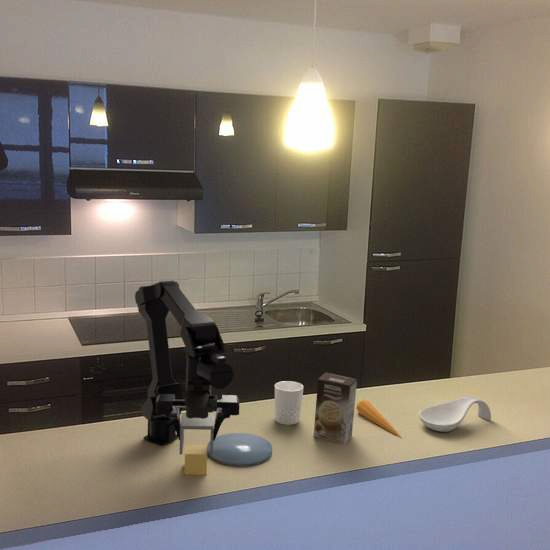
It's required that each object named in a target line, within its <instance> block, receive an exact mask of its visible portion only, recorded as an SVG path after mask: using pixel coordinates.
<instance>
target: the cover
mask: <svg viewBox="0 0 550 550" xmlns="http://www.w3.org/2000/svg"><path fill="white" fill-rule="evenodd" d="M214 424H215V413H214V412H213V413H208V417H207V418H205V419H201V418H187V417H186V412H181V416H180V440H179V455H183V450H184V443H185V442H184V441H185V430H198V431H200V430H205V431H206V430H207V431H208V430H210V435H209V436H210V438H209V439H210V440H209V441H210V455H213V430H214Z"/></svg>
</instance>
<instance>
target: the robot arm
mask: <svg viewBox="0 0 550 550" xmlns="http://www.w3.org/2000/svg"><path fill="white" fill-rule="evenodd" d="M179 285H180V284H179V283H178V282H177V281H175V280H163V281H158V282H156V283H154V284H151V285H141V286H140V287H139V288H138V290H137V291H135V293H134V300H135V303H136V306H137V311H138V313H139V314H140V316H141V317H142V318H143V319H144V320H145V322H146V332H147V338H148V339H147V340H148V350H149V358H150V365H151V366H150V367H151V375H152V376H151V377H152V380H151V382H150V384H149V386H148V388H147V399H146V400H145V402H144V403H143V404H142V405H141V413H142V414H141V415H142V417H144V418H145V419H146V420H147V434H146V435H145V436H143V440H145V441H148V442H151V443H154V444H157V445H160V446H165V445H166V444H169V443H170V442H172V441H174V440H176V439H178V441H180V424H181V416H182V410H183V409H185V413H186V417H187V418H201V419H205V418H207V417H208V413H214V412H216V413H215V417H214V430H213V441H215V438H216V437H217V436H218V433H219V431H220V429H221V426H222V424H223V422H224V421H225V420H226V419H230V417H231V416H239V415H240V397H239V396H238V395H235V394H234V395H233V394H229V395H228V394H222V395H221V399H218V395H217V394H216V395H215V394H214V395H213V394H212V388H214V389H216V390H223V389H225V388H227V387H228V386H229V385H230V384H231V383H232V380H233V378H234V371H233V368H232V366H231V365H230V364H229V363H227V358H226V356H224V355H220V354H225V353H226V351H225V347H224V346H225V343H224V341H223V338H222V336H221V334H220V330H219V327H218V325H217V323H216V322H215V321H214V320H213V319H212V318H210V316H209V315H207V314H204V313H201V312H199V311H198V310H197V309H196V308H195V306H193V304H192V303H191V302H190V300H189V299H188V298H187V296H186V295H185V293H183V291H182V290H181V288H180V286H179ZM169 313H171V314H172V315H171V316H173V317H174V319H175V320H176V322H177V323H178V324H179V326H180V331H179V335H180V337H181V339H182V342H183V344H184V347H183V348H182V349H183V351H184V352H185V353H186V364H185V366H186V368H185V373H186V374H185V393H184V398H183V392H182V385H181V384H180V382H177V381H176V379H174V377H173V374H172V373H173V372H172V364H171V355H170V345H169V338H168V337H169V336H168V329H167V316H168V315H169Z"/></svg>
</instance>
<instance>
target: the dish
mask: <svg viewBox="0 0 550 550" xmlns="http://www.w3.org/2000/svg"><path fill="white" fill-rule="evenodd" d="M206 445H207V456H209V457H210V458H211V459H212V460H214V461H215V462H218V463H220V464H224V465H228V466H236V467H246V466H247V467H249V466H250V467H251V466H254V465H255V466H256V465H259V464H261V463H264V462H266V461H267V460H269V459H270V458H271V457H272V453H273V445H272V443H271V442H270V441H269V440H268V439H266V438H265V437H262V436H260V435H256V434H252V433H246V432H232V433H225V434H220V435H217V436H216V438H215V441H213V455H210V440H209V441H208V443H207V444H206Z"/></svg>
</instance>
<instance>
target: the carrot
mask: <svg viewBox="0 0 550 550" xmlns="http://www.w3.org/2000/svg"><path fill="white" fill-rule="evenodd" d="M355 409H356V410H357V412H358V413H359V414H360V415H361V416H363V418H366V419H368V420H369V421H370V422H373V423H375V424H377V425H378V426H379V427H381V428H383V429H384V430H386V431H387V430H388V432H389V433H391V434H393V435H395V436H397V437H398V438H400V439H403V437H402V436H401V435H400V434H399V432H398V431H396V429H395V428H394V426H393V425H391V424H390V422H389V421H388V420H387V419H386V418H385V417H384V416H383V415H382V414H381V413H380V412H379V411H378V409H376V408H375V406H373V405H372V403H371V402H370V401H368V400H366V399H362V400H359V402H357V403H356V408H355Z"/></svg>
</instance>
